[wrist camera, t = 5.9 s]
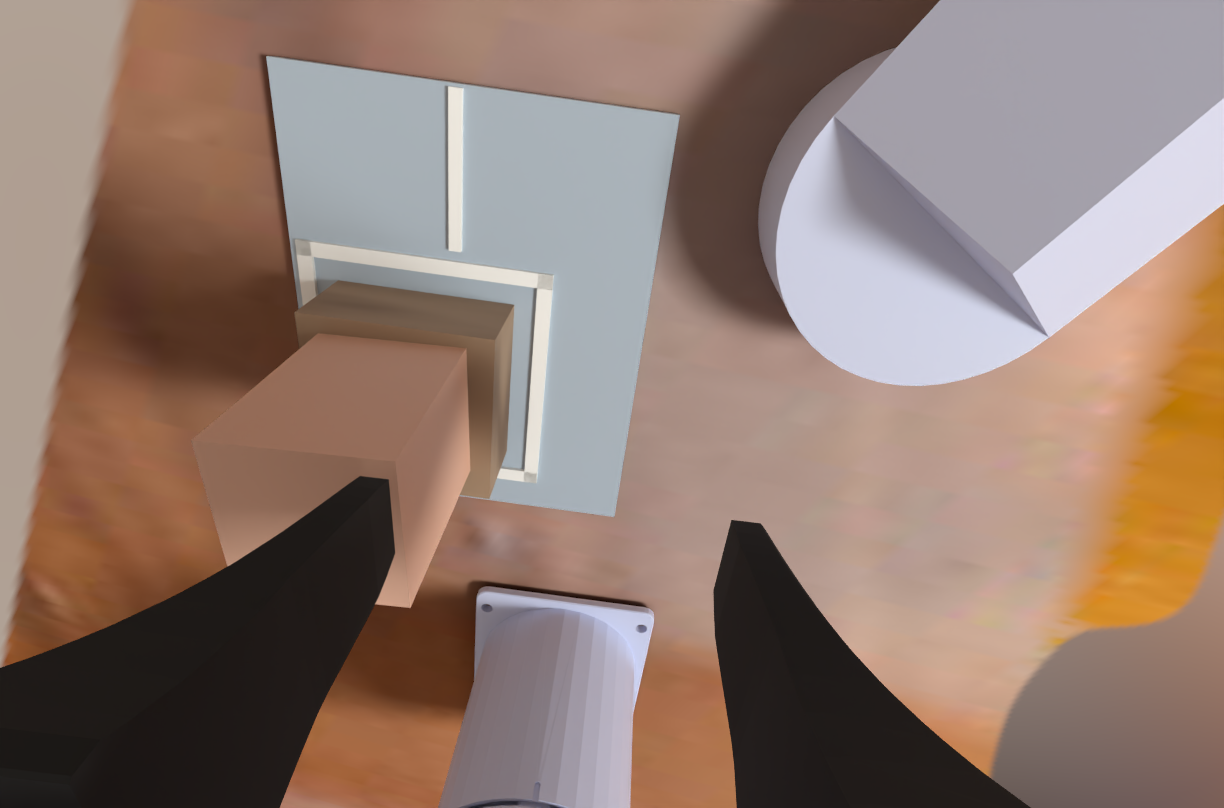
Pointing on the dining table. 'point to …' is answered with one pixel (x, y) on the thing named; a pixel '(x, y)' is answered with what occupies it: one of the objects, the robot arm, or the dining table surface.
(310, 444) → the column block
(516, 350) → the board
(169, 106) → the dining table surface
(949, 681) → the dining table surface
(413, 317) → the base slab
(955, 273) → the wedge on round base
